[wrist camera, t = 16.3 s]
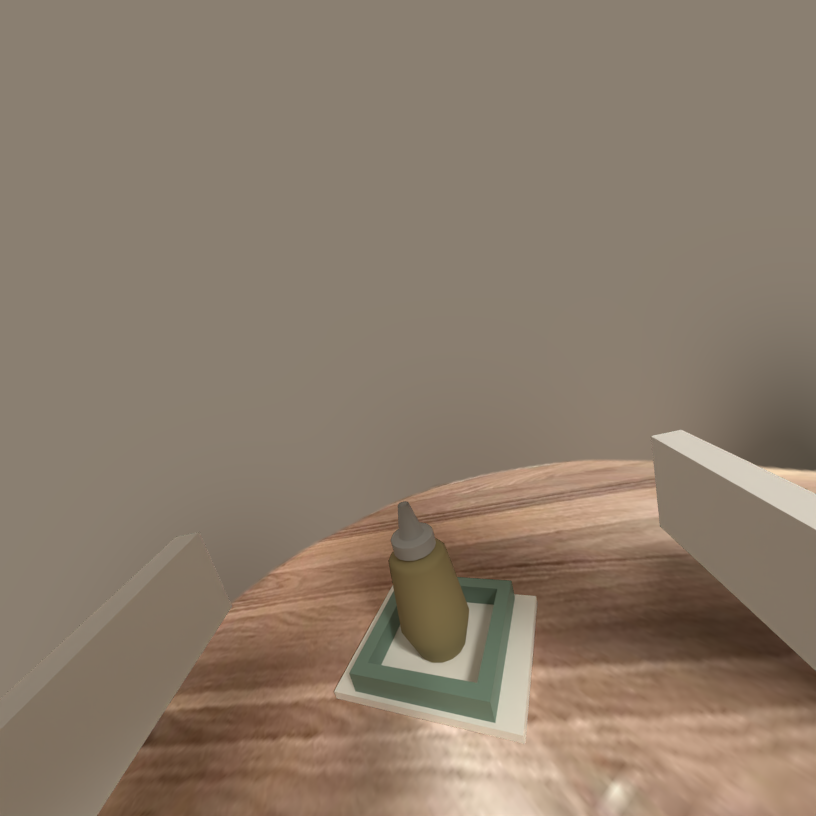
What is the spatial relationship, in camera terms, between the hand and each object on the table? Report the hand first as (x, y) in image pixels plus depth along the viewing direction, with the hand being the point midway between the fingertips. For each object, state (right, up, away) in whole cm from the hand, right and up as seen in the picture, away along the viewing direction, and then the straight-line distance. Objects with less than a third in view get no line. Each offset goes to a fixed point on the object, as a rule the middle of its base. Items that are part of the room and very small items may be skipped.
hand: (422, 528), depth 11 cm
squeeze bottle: (+3, -24, +33) cm, 41 cm away
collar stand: (+4, -24, +33) cm, 41 cm away
